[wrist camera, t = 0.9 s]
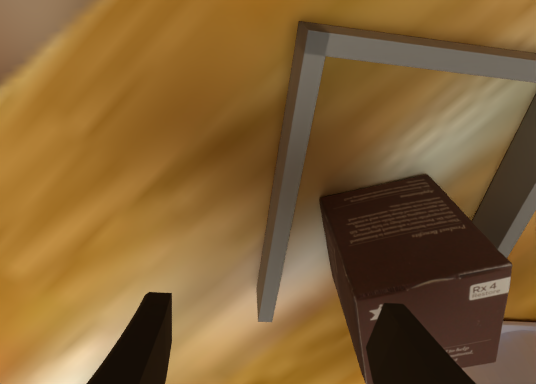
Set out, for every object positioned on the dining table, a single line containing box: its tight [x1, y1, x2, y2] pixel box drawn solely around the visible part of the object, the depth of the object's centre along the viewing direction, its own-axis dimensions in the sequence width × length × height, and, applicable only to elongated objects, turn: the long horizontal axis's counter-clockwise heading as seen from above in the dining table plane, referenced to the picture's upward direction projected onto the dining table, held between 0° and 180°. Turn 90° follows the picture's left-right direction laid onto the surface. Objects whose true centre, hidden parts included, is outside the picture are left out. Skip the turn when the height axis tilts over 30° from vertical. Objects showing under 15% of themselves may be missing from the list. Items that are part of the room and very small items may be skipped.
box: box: [320, 175, 512, 384], centre depth 18 cm, size 6×6×7 cm
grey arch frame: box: [257, 21, 536, 322], centre depth 19 cm, size 13×15×2 cm
